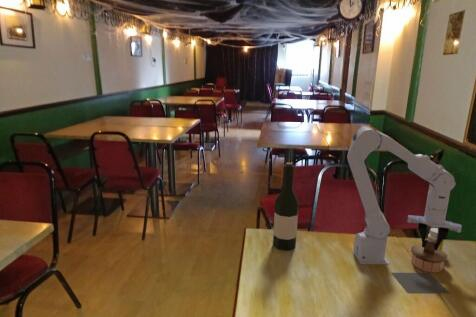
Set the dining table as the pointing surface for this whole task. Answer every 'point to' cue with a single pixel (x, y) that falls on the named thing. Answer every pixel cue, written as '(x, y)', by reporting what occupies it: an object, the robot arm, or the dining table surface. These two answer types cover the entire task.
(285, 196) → the wine bottle
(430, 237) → the supplement bottle
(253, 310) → the dining table surface
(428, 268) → the bowl
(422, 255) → the lid
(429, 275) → the mat
